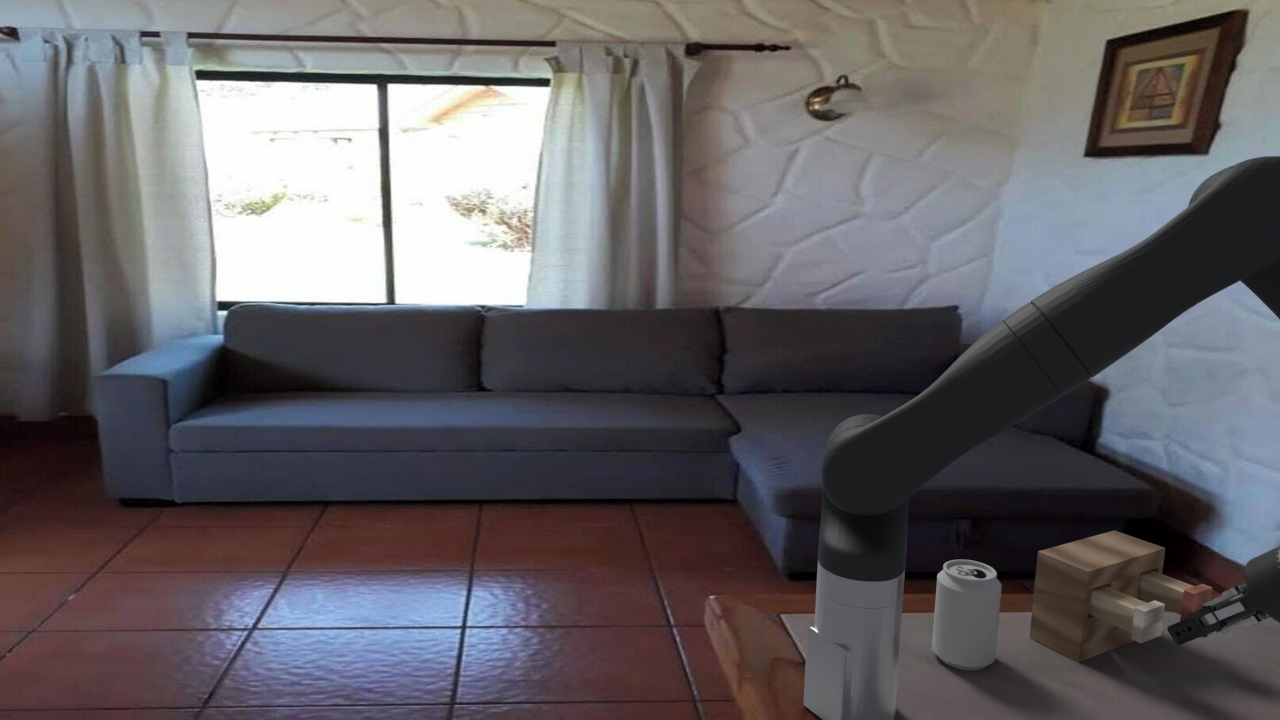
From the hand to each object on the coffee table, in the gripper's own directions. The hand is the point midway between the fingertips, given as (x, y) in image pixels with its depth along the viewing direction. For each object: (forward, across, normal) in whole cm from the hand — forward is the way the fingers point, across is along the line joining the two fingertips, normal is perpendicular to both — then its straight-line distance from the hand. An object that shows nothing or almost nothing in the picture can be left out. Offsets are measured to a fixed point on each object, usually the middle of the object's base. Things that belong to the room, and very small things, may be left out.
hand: (1175, 635), depth 100 cm
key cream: (+6, 0, -4) cm, 8 cm away
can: (+17, +15, -6) cm, 24 cm away
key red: (+6, -10, -4) cm, 13 cm away
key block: (+14, -5, -4) cm, 16 cm away
